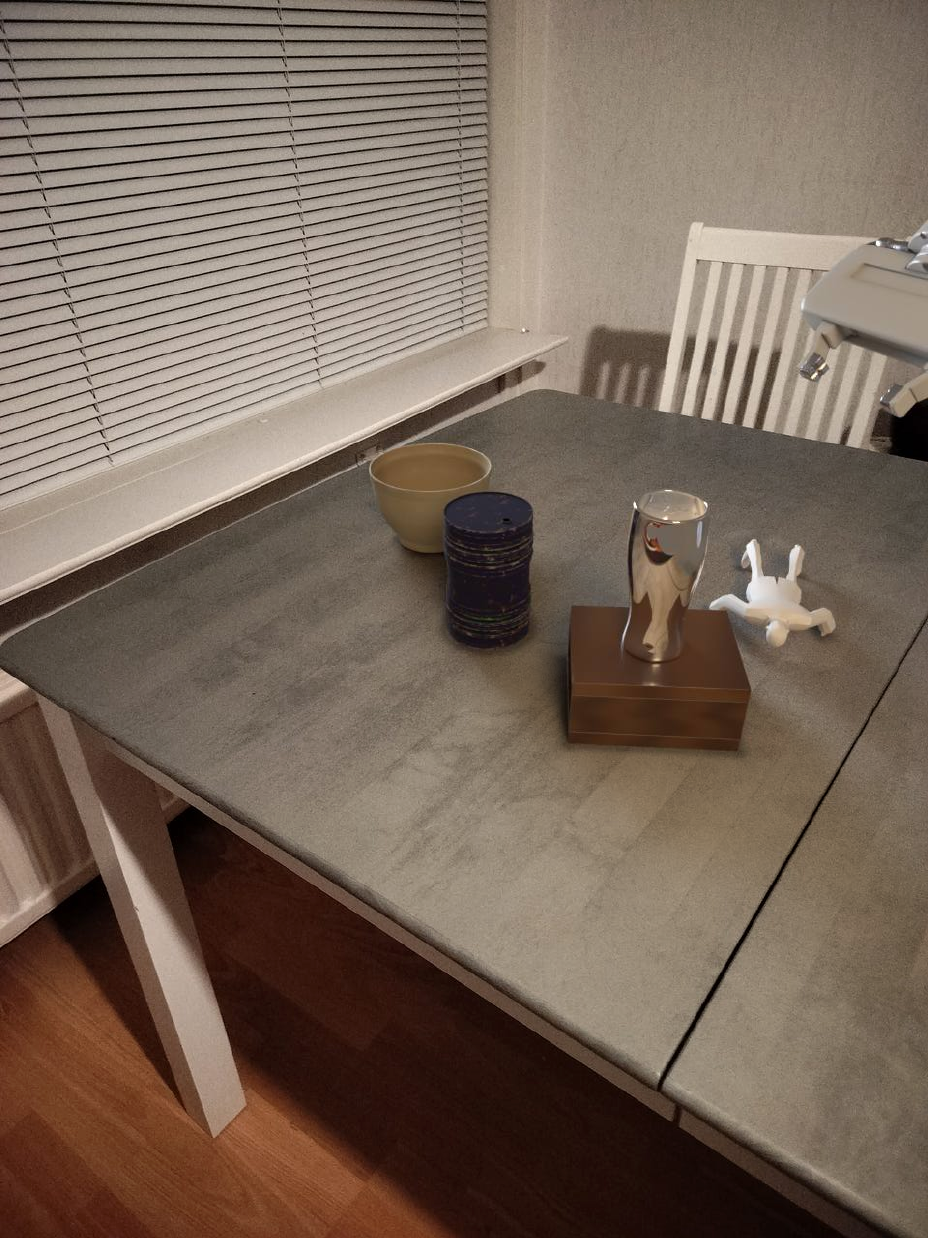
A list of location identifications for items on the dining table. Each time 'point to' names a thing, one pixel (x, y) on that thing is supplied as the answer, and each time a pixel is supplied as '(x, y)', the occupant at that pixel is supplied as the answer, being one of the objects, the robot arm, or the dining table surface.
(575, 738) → the wooden keepsake box
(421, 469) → the planter bowl
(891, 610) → the dining table surface
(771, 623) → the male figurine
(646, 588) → the beer glass
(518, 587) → the dark blue oil drum
